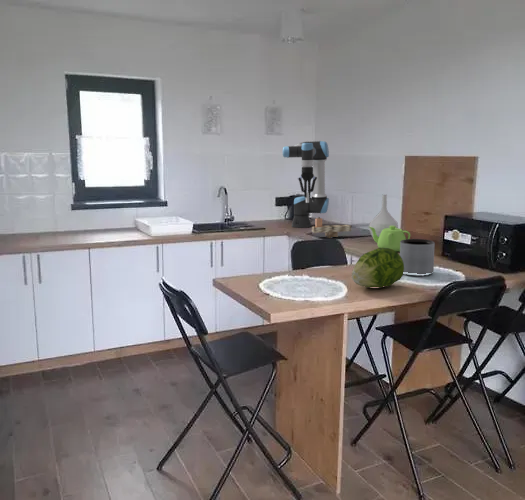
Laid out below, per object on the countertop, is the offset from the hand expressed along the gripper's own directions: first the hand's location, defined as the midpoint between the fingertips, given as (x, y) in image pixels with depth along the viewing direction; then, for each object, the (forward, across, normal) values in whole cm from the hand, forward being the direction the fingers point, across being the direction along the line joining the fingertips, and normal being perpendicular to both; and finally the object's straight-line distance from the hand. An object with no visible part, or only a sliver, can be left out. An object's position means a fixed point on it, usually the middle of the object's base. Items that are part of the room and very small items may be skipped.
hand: (307, 202), depth 347 cm
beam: (+24, +17, 0) cm, 30 cm away
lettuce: (+25, -5, -129) cm, 131 cm away
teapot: (+25, +36, -51) cm, 67 cm away
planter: (+25, +24, -109) cm, 114 cm away
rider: (+18, +8, 0) cm, 20 cm away
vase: (+25, +45, -22) cm, 56 cm away
